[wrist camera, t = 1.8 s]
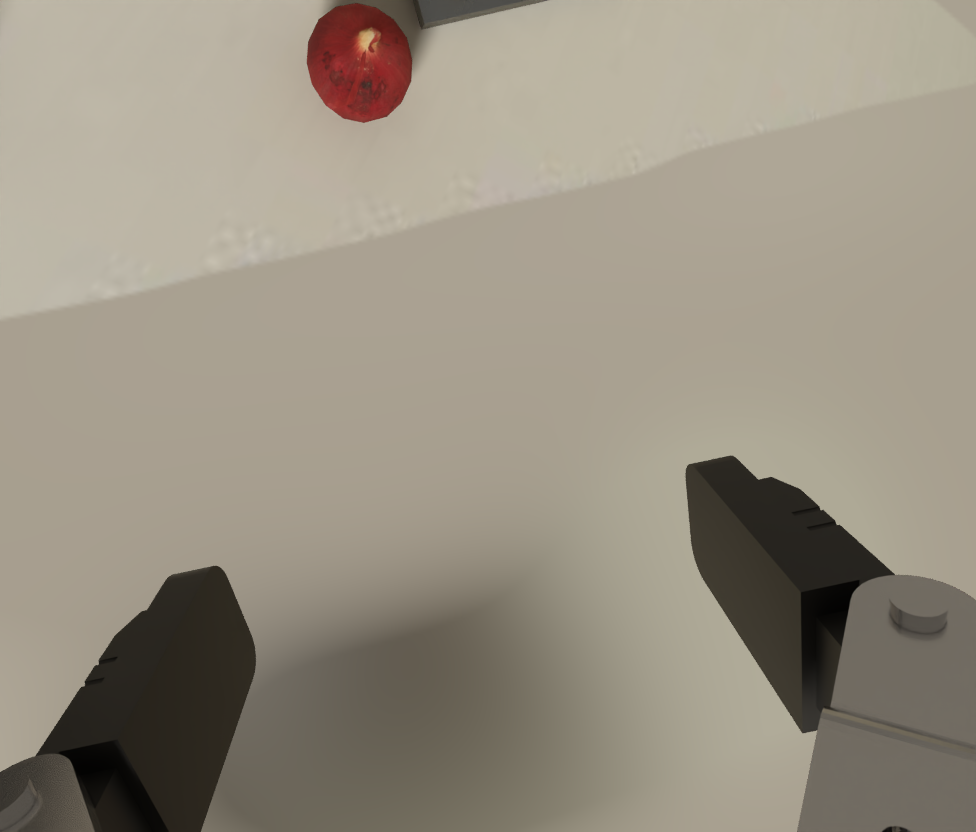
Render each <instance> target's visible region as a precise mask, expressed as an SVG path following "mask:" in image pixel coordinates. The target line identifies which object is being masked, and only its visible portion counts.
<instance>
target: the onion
mask: <svg viewBox="0 0 976 832" xmlns="http://www.w3.org/2000/svg"><path fill="white" fill-rule="evenodd" d="M307 66H308V70H309V74H310V78H311V82H312V85H313V87H314V88H315V90H316V91H317V93H318V94H319V96H320V97H321V99H322V100H323V102H324V103H325V105H326V106H328V107H329V108H330V109H332V110H333V111H334V112H336V113H337V114H338V115H340V116H341V117H342V118H344V119H349V120H354V121H358V122H363V123H365V122H369V121H372V120H376V119H380V118H383V117H387V116H388V115H389V114H390V113H391V112H392V111H393V110H394V109H395V108H396V107H397V106H398V105H400V104H401V102H402V100H403V98H404V96H405V94H406V91H407V89H408V87H409V85H410V82H411V74H412V57H411V53H410V49H409V44H408V40H407V37H406V36H405V34H404V33H403V32H402V30H401V29H400V28H399V26H398V25H397V23H396V22H395V21H394V19H392V18H391V17H389V16H388V15H386V14H385V13H383V12H382V11H380V10H379V9H377V8H375V7H371V6H366V5H362V4H358V3H355V4H349V5H344V6H338V7H335V8H334V9H332V10H331V11H330V12H328V13H327V14H325V15H324V16H323V17H321V18H320V19H319V20H318V22H317V24H316V26H315V28H314V31H313V33H312V35H311V37H310V39H309V42H308V53H307Z"/></svg>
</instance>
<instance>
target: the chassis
mask: <svg viewBox="0 0 976 832" xmlns="http://www.w3.org/2000/svg"><path fill="white" fill-rule="evenodd" d="M413 1H414V4H415V8H416V12H417V15H418V19H419V22H420V26H421V29H426V28H430V27H434V26H439V25H443V24H447V23H452V22H456V21H460V20H465V19H469V18H473V17H478V16H482V15H486V14H491V13H495V12H499V11H504V10H508V9H513V8H517V7H521V6H526V5H530V4H534V3H539V2H543V1H547V0H413Z"/></svg>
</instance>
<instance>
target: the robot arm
mask: <svg viewBox="0 0 976 832" xmlns="http://www.w3.org/2000/svg"><path fill="white" fill-rule="evenodd" d="M686 488H687V499H688V511H689V522H690V534H691V544H692V549H693V554H694V558H695V561H696V564H697V567H698V569H699V572H700V574H701V576H702V578H703V580H704V581H705V583H706V584H707V586H708V587H709V589H710V591H711V592H712V594H713V595H714V597H715V598H716V600H717V601H718V603H719V605H720V606H721V608H722V609H723V611H724V612H725V614H726V615H727V617H728V619H729V620H730V622H731V623H732V625H733V626H734V628H735V629H736V631H737V632H738V634H739V636H740V637H741V639H742V640H743V641H744V643H745V645H746V646H747V648H748V650H749V651H750V652H751V654H752V656H753V657H754V659H755V660H756V662H757V663H758V665H759V667H760V668H761V670H762V671H763V673H764V674H765V676H766V677H767V679H768V681H769V682H770V684H771V685H772V687H773V688H774V690H775V691H776V693H777V695H778V696H779V698H780V699H781V701H782V702H783V704H784V705H785V707H786V709H787V710H788V712H789V713H790V715H791V716H792V717H793V719H794V721H795V722H796V724H797V726H798V727H799V729H800V730H801V732H802V733H806V732H811V731H816V730H817V735H816V740H815V745H814V750H813V755H812V761H811V765H810V770H809V775H808V780H807V785H806V791H805V795H804V800H803V805H802V810H801V815H800V820H799V825H798V830H797V832H976V600H975V599H974V598H972V597H971V596H969V595H968V594H966V593H965V592H963V591H961V590H959V589H957V588H955V587H953V586H950V585H948V584H946V583H943V582H940V581H936V580H933V579H928V578H924V577H919V576H909V575H895V574H894V573H893V572H892V571H890V570H889V569H888V568H887V567H886V566H885V565H884V564H883V563H882V562H880V561H879V560H878V559H877V558H876V557H875V556H874V555H873V554H872V553H870V552H869V551H868V550H867V549H866V548H865V547H864V546H863V545H861V544H860V543H859V542H858V541H857V540H856V539H855V538H854V537H853V536H852V535H850V534H849V533H848V532H847V531H846V530H845V529H844V528H843V527H842V526H840V525H836V522H835V520H834V519H833V518H832V517H830V516H829V515H828V514H827V513H826V512H825V511H824V510H820V508H819V506H818V505H817V504H816V503H815V502H814V501H813V500H811V499H810V498H809V497H808V496H807V495H806V494H805V493H804V492H803V491H801V490H800V489H799V488H796V487H794V486H791V485H789V484H787V483H784V482H782V481H779V480H777V479H775V478H773V477H769V478H764V479H760V480H758V479H757V478H756V477H755V476H754V475H753V474H752V473H751V472H750V471H749V470H748V469H747V468H746V467H745V466H744V465H743V464H742V463H741V462H740V461H739V460H738V459H737V458H735V457H734V456H726V457H722V458H717V459H712V460H708V461H703V462H698V463H693V464H689V465H688V466H687V468H686ZM255 666H256V654H255V646H254V642H253V638H252V635H251V633H250V631H249V628H248V626H247V623H246V621H245V619H244V616H243V614H242V611H241V609H240V607H239V604H238V602H237V599H236V597H235V595H234V592H233V590H232V587H231V585H230V583H229V580H228V578H227V576H226V574H225V572H224V571H223V570H222V569H221V568H220V567H218V566H211V567H207V568H202V569H197V570H192V571H188V572H183V573H178V574H173V575H171V576H169V577H168V578H167V579H166V581H165V582H164V584H163V585H162V587H161V589H160V590H159V592H158V593H157V595H156V596H155V598H154V600H153V601H152V603H151V605H150V606H149V608H148V609H147V610H146V611H142V612H141V613H139V614H138V615H137V616H136V617H135V618H134V619H133V620H132V621H131V622H129V623H128V624H127V625H126V626H125V627H124V628H123V629H122V630H121V631H120V632H118V633H117V634H116V635H115V636H114V638H113V639H112V641H111V643H110V644H109V646H108V647H107V648H106V650H105V652H104V653H103V655H102V656H101V658H100V659H99V665H96V666H95V667H94V668H93V670H92V671H91V673H90V674H89V676H88V677H87V679H86V681H85V686H84V687H81V688H80V689H79V691H78V692H77V694H76V695H75V697H74V698H73V700H72V701H71V703H70V705H69V706H68V708H67V709H66V711H65V712H64V714H63V715H62V717H61V718H60V720H59V721H58V723H57V724H56V726H55V727H54V729H53V730H52V732H51V733H50V735H49V736H48V738H47V739H46V741H45V742H44V744H43V746H42V747H41V748H40V750H39V752H38V753H37V754H36V756H35V757H31V758H29V759H26V760H23V761H21V762H19V763H17V764H15V765H12V766H11V767H9V768H7V769H5V770H3V771H1V772H0V832H201V829H202V826H203V823H204V820H205V817H206V815H207V812H208V808H209V805H210V803H211V800H212V797H213V794H214V791H215V788H216V785H217V782H218V779H219V776H220V774H221V770H222V768H223V765H224V762H225V759H226V756H227V753H228V750H229V747H230V744H231V741H232V738H233V735H234V733H235V730H236V726H237V723H238V721H239V718H240V715H241V712H242V709H243V706H244V703H245V700H246V697H247V694H248V691H249V689H250V685H251V682H252V679H253V676H254V673H255Z"/></svg>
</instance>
